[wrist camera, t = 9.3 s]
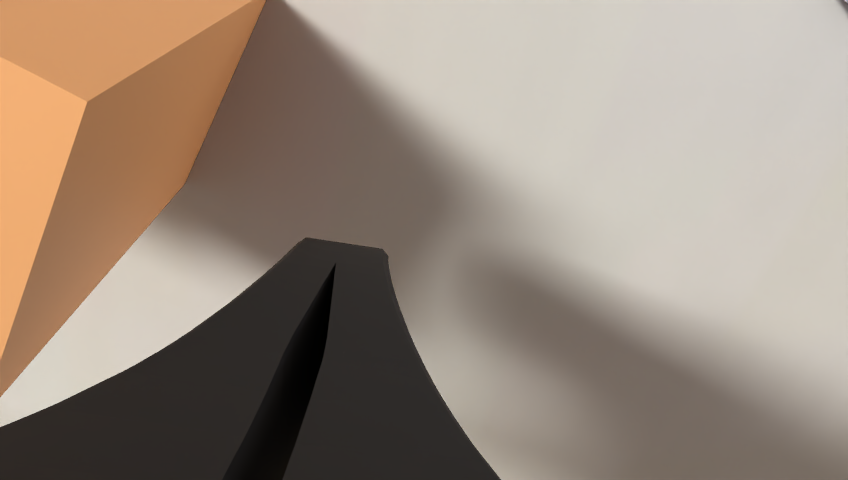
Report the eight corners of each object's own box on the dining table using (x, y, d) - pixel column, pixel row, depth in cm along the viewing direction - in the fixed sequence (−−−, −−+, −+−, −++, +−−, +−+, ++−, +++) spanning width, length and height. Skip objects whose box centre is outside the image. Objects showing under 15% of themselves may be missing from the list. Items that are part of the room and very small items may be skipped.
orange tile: (271, -12, 13) (87, 102, 6) (184, 184, 15) (-20, 420, 8) (185, -63, 12) (-107, 0, 6) (109, 146, 15) (-166, 363, 8)
